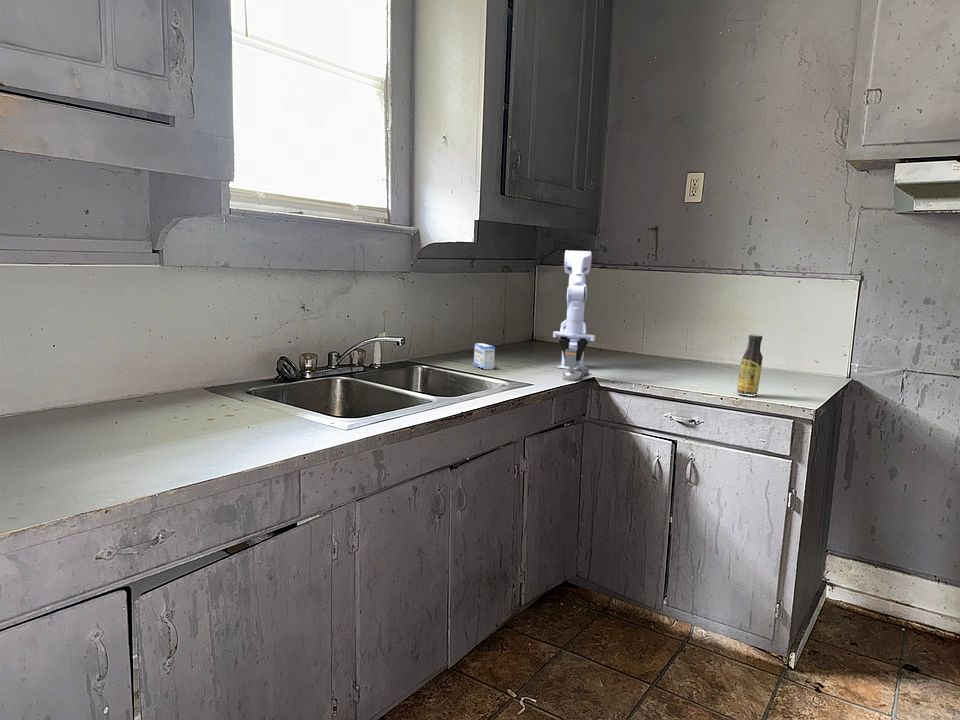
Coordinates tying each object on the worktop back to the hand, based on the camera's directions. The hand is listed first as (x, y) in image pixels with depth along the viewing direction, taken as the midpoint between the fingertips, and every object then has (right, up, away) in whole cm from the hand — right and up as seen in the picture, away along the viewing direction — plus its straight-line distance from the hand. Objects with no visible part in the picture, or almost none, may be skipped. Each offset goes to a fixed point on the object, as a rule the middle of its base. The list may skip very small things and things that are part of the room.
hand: (572, 359), depth 228 cm
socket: (0, -2, 0) cm, 2 cm away
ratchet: (+2, -6, +6) cm, 9 cm away
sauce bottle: (+55, -12, -13) cm, 58 cm away
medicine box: (-30, -3, +16) cm, 35 cm away
